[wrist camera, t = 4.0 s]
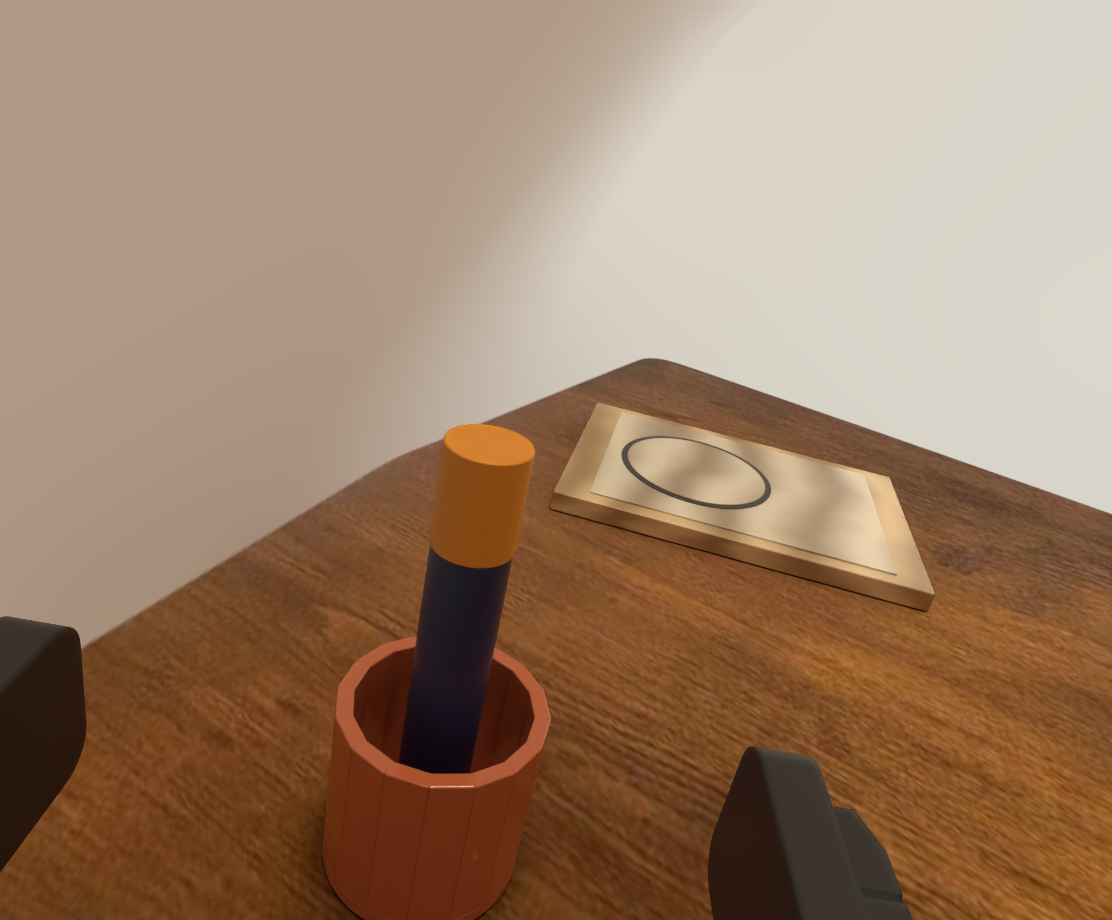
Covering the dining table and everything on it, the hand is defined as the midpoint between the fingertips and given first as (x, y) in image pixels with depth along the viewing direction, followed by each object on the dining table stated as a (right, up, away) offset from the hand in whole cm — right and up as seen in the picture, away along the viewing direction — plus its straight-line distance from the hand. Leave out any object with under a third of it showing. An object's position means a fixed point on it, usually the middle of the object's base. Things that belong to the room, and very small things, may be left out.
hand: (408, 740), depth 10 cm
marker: (-2, -9, +16) cm, 19 cm away
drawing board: (+14, +1, +44) cm, 46 cm away
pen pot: (-3, -9, +17) cm, 19 cm away
